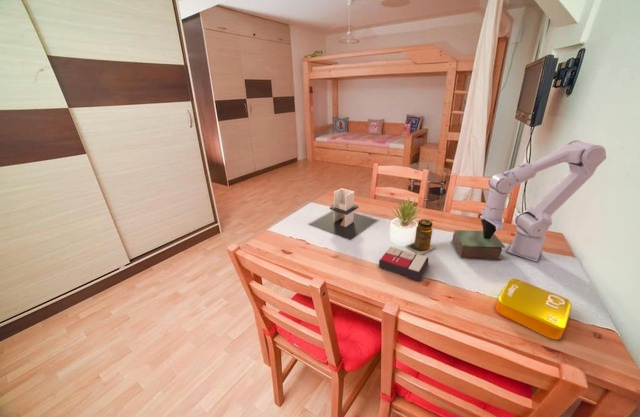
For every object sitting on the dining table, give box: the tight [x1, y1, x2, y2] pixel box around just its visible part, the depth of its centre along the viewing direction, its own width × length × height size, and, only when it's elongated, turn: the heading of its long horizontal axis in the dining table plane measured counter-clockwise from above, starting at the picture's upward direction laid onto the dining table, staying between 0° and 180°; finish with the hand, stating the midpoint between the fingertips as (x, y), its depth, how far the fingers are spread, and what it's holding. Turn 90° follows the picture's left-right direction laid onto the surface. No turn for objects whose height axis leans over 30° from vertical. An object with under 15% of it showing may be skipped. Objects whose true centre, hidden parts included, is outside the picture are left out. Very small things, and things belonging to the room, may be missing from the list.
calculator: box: [378, 246, 429, 282], centre depth 97 cm, size 11×4×15 cm
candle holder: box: [309, 188, 378, 241], centre depth 129 cm, size 25×24×16 cm
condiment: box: [406, 218, 434, 256], centre depth 107 cm, size 7×8×12 cm
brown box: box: [451, 231, 503, 261], centre depth 105 cm, size 14×12×5 cm
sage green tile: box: [453, 229, 506, 249], centre depth 103 cm, size 14×12×1 cm
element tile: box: [495, 278, 572, 341], centre depth 76 cm, size 15×15×5 cm
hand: (486, 237), depth 103 cm, fingers closed
